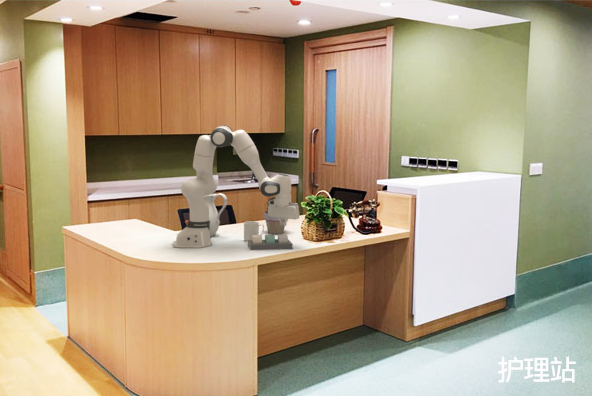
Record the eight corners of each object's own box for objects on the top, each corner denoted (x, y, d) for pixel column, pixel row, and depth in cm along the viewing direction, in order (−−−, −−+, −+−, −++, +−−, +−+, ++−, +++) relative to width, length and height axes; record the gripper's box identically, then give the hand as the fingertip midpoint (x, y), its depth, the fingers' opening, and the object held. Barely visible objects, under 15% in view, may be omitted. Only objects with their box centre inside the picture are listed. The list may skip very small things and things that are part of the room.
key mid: (266, 243, 340) (266, 236, 340) (264, 241, 345) (264, 234, 345) (274, 243, 342) (275, 236, 341) (273, 241, 346) (273, 234, 346)
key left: (253, 243, 339) (253, 236, 338) (252, 241, 344) (252, 235, 343) (262, 243, 340) (262, 236, 339) (260, 241, 345) (260, 234, 344)
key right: (279, 243, 342) (279, 236, 342) (277, 241, 347) (277, 234, 346) (287, 242, 343) (287, 235, 343) (285, 240, 348) (286, 234, 347)
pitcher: (186, 236, 368) (186, 191, 364) (202, 231, 383) (202, 188, 379) (218, 240, 357) (218, 194, 353) (233, 235, 372) (233, 191, 368)
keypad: (250, 250, 335) (250, 244, 334) (247, 245, 347) (247, 239, 347) (292, 248, 340) (292, 243, 340) (287, 243, 353) (287, 238, 352)
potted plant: (291, 230, 394) (292, 192, 391) (288, 236, 375) (288, 197, 371) (264, 229, 396) (265, 192, 392) (259, 235, 377) (260, 196, 373)
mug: (244, 242, 355) (244, 223, 353) (243, 239, 364) (243, 221, 362) (264, 241, 357) (264, 223, 355) (262, 238, 366) (263, 221, 364)
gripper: (301, 202, 338) (301, 226, 340) (272, 199, 350) (272, 223, 352) (295, 204, 333) (295, 228, 335) (266, 201, 344) (266, 224, 346)
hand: (283, 225), depth 343 cm, fingers closed
